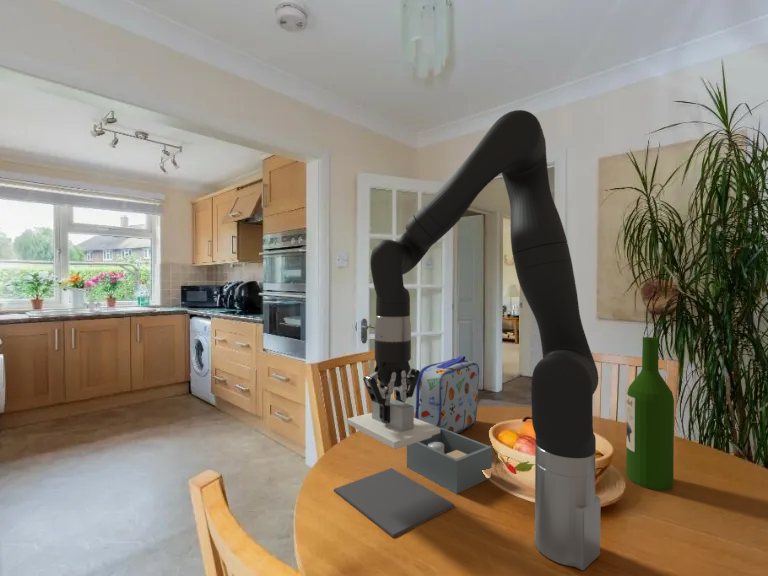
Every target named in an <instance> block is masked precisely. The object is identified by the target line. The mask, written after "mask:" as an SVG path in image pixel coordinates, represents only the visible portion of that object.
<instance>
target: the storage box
mask: <svg viewBox="0 0 768 576" xmlns="http://www.w3.org/2000/svg"><path fill="white" fill-rule="evenodd" d="M492 449H493V447H492V446H490V445H487V444H485V443H482V442H479V441H477V440H475V439H472V438H469V437H467V436H464V435H462V434H459V433H454V432H451V431H449V430H446V429H444V428H440V433H439V434H435V435H432V438H429V439H425V440H422V441H419V442H416V443H413V444H410V445H407V446H406V468H408V469H410V470H412V471H414V472H416V473H417V474H419V475H421V476H422V477H425V478H427V479H428V480H430V481H432V482H434V483H436V484H437V485H439V486H442V487H443V488H445V489H446V490H448V491H449V492H452V493H454V494H455V495H457V494H460V493H463V491H467V490H468V489H470V488H472V487H475V486H477V485H478V484H480V483H482V482H485V481H487V480H488V479H487V478H486V477H485V475H484V474H483V472H482V470H486V469H490V468H493V466H492V465H493V464H492V463H493V460H492V458H493V457H492V456H493V455H492V454H493V453H492V452H493V450H492Z"/></svg>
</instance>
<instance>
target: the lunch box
mask: <svg viewBox="0 0 768 576" xmlns="http://www.w3.org/2000/svg"><path fill="white" fill-rule="evenodd" d="M419 371H420V374H419V377H418V380H417V383H416V387H415V389H416V390H415V411H414V412H415V414H414V418H416V419H419V420H421V421H424V422H426V423H429V424H431V425H434V426H437V427H439V428H444V429H446V430H449V431H451V432H454V433H457V434H459V433H462V432H463V431H464V430H466V429H467V428H469V427H470V426H472V425H474V424H475V422H476V420H477V417H478V401H479V399H478V398H479V396H478V395H479V387H480V386H479V385H480V384H479V383H480V367H479V365H478V363H477V362H476V361H470V360H467V359H466V356H461V355H460V356H457V357H456V358H452V359H449V360H446V361H441V362H436V363H433V364H429V365H426V366H424V367H422V368H421V369H420V370H419Z"/></svg>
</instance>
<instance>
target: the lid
mask: <svg viewBox="0 0 768 576" xmlns="http://www.w3.org/2000/svg"><path fill="white" fill-rule="evenodd" d="M384 398H385V397H384ZM389 405H390V423H388V424H386V423H383V422H382V421H381V420H380V417H379V415H380V414H379V413H380V412H379V404H378V403H375V402H373V401H371V412H369V413H366V414H360V415H358V416H357V415H356V416H353V417H348V418H346V424H347V425H349V426H351V427H353V428H354V429H355V430H357V431H359V432H361V433H363V434H365V435H366V436H368V437H370V438H372V439H374V440H376V441H378V442H380V443H382V444H384V445H386V446H388V447H390V448H392V449H394V450H398V449H400V448H403V447H407V445H410V444H413V443H416V442H419V441H422V440H425V439H429V438H432V435H435V434H439V433H440V428H439V427H437V426H434V425H431V424H429V423H426V422H424V421H421V420H419V419H416V418H415V414H414V412H415V407H414V405H412V404H409V403H406V402H405V403H404V402H401V401H398V400H396V399H395V398H392V397H391V398H390V404H389Z"/></svg>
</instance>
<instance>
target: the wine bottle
mask: <svg viewBox="0 0 768 576" xmlns="http://www.w3.org/2000/svg"><path fill="white" fill-rule="evenodd" d="M674 428H675V398H674V394H673V392H672V389H671V388H670V387H669V385H668V384H667V383H666V381H665V380H664V378H663V376H662V375H661V373H660V371H659V338H657V337H653V336H652V337H650V336H645V337H642V357H641V370H640V372H639V373H638V375H637V376H636V377H635V379H634V380H633V381H632V382H631V383H630V385H628V388H627V392H626V444H625V445H626V458H625V459H626V462H625V463H626V467H625V468H626V474H625V475H626V477H627V479H628V478H629V479H630V480H631V481H632V482H631V481H630V480H629V479H628V480H629V481H630V482H631V483H633V482H634V483H633V484H634V485H637V484H638V485H637V486H639V485H640V486H639V487H641V486H643V487H642V488H644V487H645V489H648V488H650V490H652V489H655V490H654V491H662V490H664V491H669V490H672V489H673V487H674V465H675V464H674V459H675V458H674V453H675V452H674V451H675V448H674V447H675V443H674V442H675V441H674V440H675V439H674V438H675V437H674V436H675V433H674V432H675V429H674Z"/></svg>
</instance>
